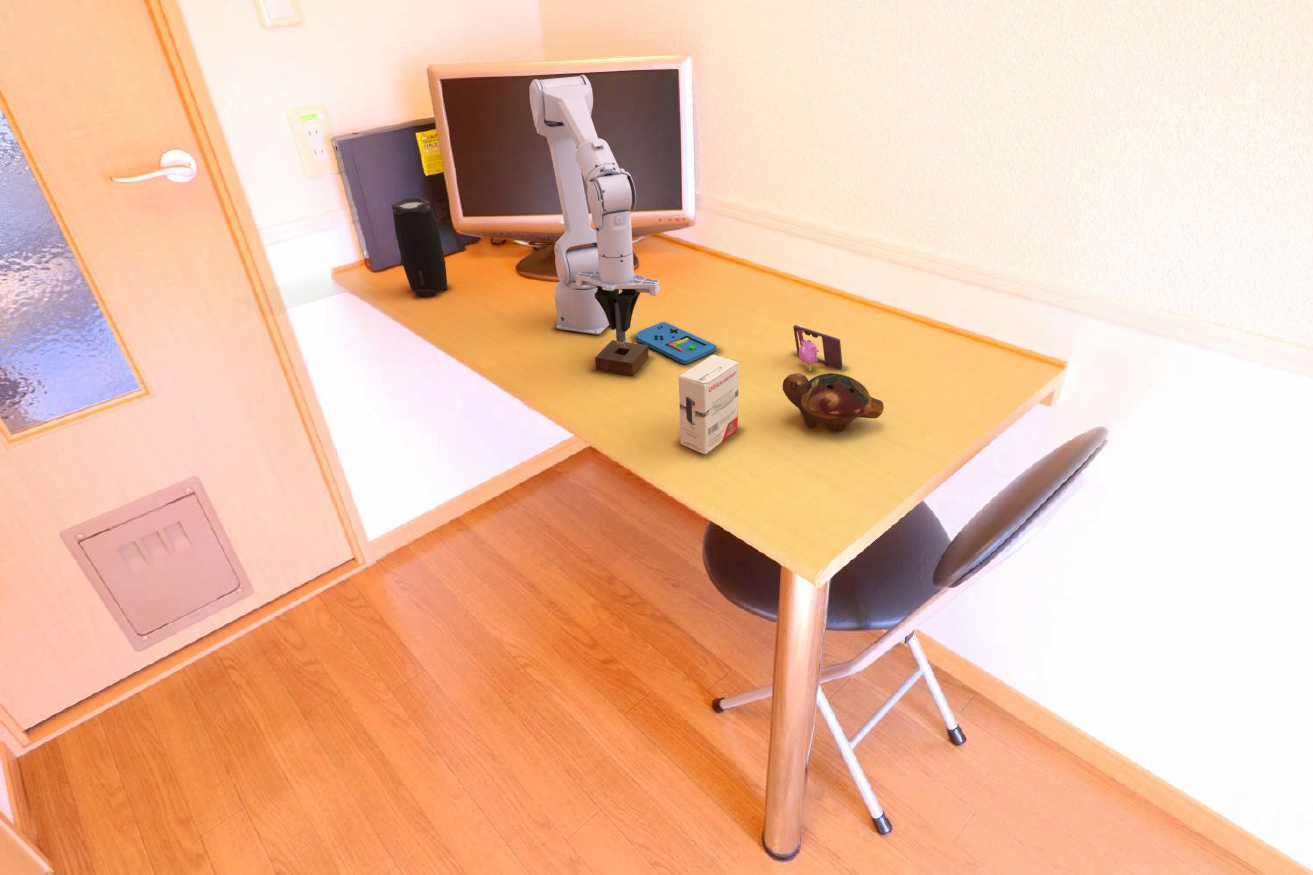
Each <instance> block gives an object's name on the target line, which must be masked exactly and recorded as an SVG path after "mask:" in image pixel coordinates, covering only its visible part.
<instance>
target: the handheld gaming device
mask: <svg viewBox="0 0 1313 875" xmlns="http://www.w3.org/2000/svg"><path fill="white" fill-rule="evenodd" d="M635 335H636V336H635V337H636V338H635V339H636V341H637V342H638V343H639V344H641V345H648V348H650V349H652V350H654V351H657V352H658V353H660V354H662V355H664V356H666V357H669V359H672V360H674V361H676V362H678V363H680V364H683V365H687V364H688V365H689V364H691V363H693V362H694V361H696V360H699V359H701V358H703V357H706V356H708V355H710V354H712V353H714V352H716V351H717V345H716V344H714V343H712V342H710V341H708V340H705V339H703V338H701V337H700V336H696V335H694V334H692V333H690V332H688V331H686V330H684V329H681V328H679V327H677V326H674V325H672V324H671V323H668V322H666V321H661V322H659V323H656V324H654V325H651V326H649V327H646V328H644V329H641V330H639V331H637V333H636V334H635Z"/></svg>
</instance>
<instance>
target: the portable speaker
mask: <svg viewBox="0 0 1313 875" xmlns="http://www.w3.org/2000/svg"><path fill="white" fill-rule="evenodd" d="M391 210H392V216H393V224H394V233H395V238H396V241H397V246H398V250H399V254H400V258H401V263H402V267H403V270H404V273H405V275H406V279H407V281H408V284H409V287H410V289H411V291H413V293H414V294H415V295H416V296H417V297H419V298H431V297H436V294H437V293H438V292H440V291H442V290H444V291H447V290H448V276H447V266H446V258H445V254H444V250H443V249H444V248H443V244H442V239H441V234H440V230H439V226H438V222H437V219H436V217H435V213H434V210H433V207H432V204H431V201H430V200H427V199H425V198H422V197H420V196H410V197H406V198H402V199H401V200H400V201H398V202H395V203H392V204H391Z"/></svg>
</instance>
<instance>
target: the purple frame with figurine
mask: <svg viewBox="0 0 1313 875" xmlns="http://www.w3.org/2000/svg"><path fill="white" fill-rule="evenodd" d="M792 328H793V334H794V342H795V346H796V353H797V355H798V356H799V359H800V360H801V361H802V363H803V364H805V365H808V372H812V370H813V365H814V364H815V363H816V362H818V363H823V364H826V365H828V366H831V367H834V368H836V369H839V370H842V369H843V367H844V366H843V356H842V355H843V354H842V344H841V339H840V338H838V337H835V336H831V335H828V334H825V333H821V332H818V331H815V330H812V329H809V328H806V327H803V326H802V325H796V324H795V325H793V327H792ZM803 334H805V335H806V336H812V337H813V338H815V339H817V338H819V337H820V338H821V341H822V349H823V358H824V359H821V358H819V357H817V356H818V354H817V353H819V352H820V350H819V349H818V346H817V345H816V343H815V342H813V341H811V340H809V339H804V335H803Z"/></svg>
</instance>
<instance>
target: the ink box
mask: <svg viewBox="0 0 1313 875" xmlns="http://www.w3.org/2000/svg"><path fill="white" fill-rule="evenodd" d="M739 368H740V363H739V362H738V361H736V360H733V359H731V358H726V357H723V356H719V355H716V354H711V355H709V357H707V358H705V359H704V360H702V361H700V362H699V363H697V364H696V365H694V366H692V367H691V368H689V369H688V370H686V371H684V372H683V373H681V374H680V375H678V395H679V396H678V399H679V402H678V403H679V436H680V445H682V446H684V447H686V448H689V449H691V450H693V451H696V452H697V453H700V454H702V455H707V454H709V453H710V452H711V451H712V450H714V449H715V448H716V447H717V446H718V445H720V444H721V443H722V442H724V441H725V440H727V439H728V438H729V437H731V436H732V435H733V434H734V433H736V432H737V431H738V429H739V427H738V426H739V377H740V376H739V372H740V370H739Z"/></svg>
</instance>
